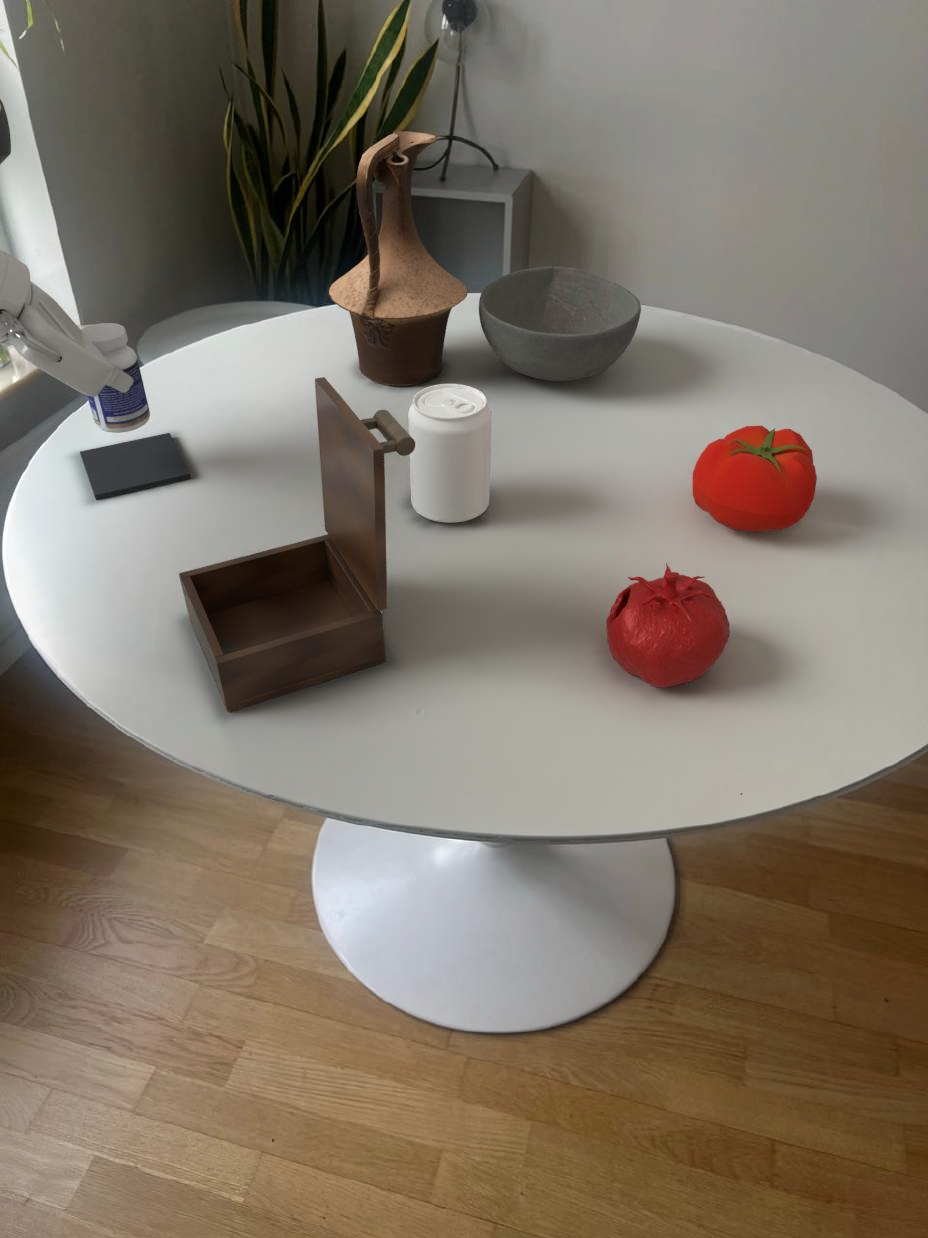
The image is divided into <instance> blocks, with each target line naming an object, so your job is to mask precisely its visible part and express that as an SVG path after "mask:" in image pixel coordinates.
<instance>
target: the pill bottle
mask: <svg viewBox="0 0 928 1238" xmlns="http://www.w3.org/2000/svg"><path fill="white" fill-rule="evenodd" d="M80 330H81V331H82V332H83V333H84V334H85V335H86V336H87V338H88V339H89V340H90V341H91V342H92V343H93V344H94V345H95V347H96V348H97V349H98V350H99V351H100V352H101V353H102V355H103V356H104V357H105V358H106V359H107V360H108V361H109V363H110V364H111V365H113V366H114V367H115V366H117V367H118V368H120V369H122V370H123V371H125V372H127V373H128V374H129V375H130V376H131V377H132V379H133V384H132V385H131V387H130V388H129V390H128V391H127V392H125V393H122V392H120V391H118V390H117V389H115V388H113V387H111V386H107V385H105V386H104V387H103V388H102V390H101V391H100V393H99V394H98V395H97V396H95V397H92V396H88V395H86V397H87V400H88V404H89V408H90V411H91V415H92V418H93V422H94V424H95V425H96V427H97V428H98V429H100V430H101V431H104V432H107V433H115V434H117V433H118V434H119V433H121V434H122V433H128V432H131V431H134V430H137V429H140V428H141V427H144V426H145V425H146V424H147V423H148V421H149V420H150V417H151V411H150V407H149V402H148V398H147V393H146V390H145V385H144V381H143V376H142V373H141V368H140V363H139V360H138V355H137V352H136V351H135V350H134V349H133V348H132V347H130V346H128V345H127V344H128V341H129V339H128V334H127V331H126V328H125V326H123V325H122V324H119V323H113V322H102V323H95V324H91V325H88V326H85V327H83V328H80Z"/></svg>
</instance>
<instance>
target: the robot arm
mask: <svg viewBox="0 0 928 1238" xmlns="http://www.w3.org/2000/svg"><path fill="white" fill-rule="evenodd" d="M11 141H12V139H11V129H10V124H9V119H8V115H7V112H6V108H5V106H4V103H3V100H1V98H0V165H2V164H3V162H5V160H6V159H7V158H8V157H9V156H10V155H11V153H12V142H11ZM0 345H2V346H3V347H11V346H13V348H14V350H15V351H16V352H17V353H18V355H19V356H20V357H21V358H23V359H24V360H26V361H27V362H28V363H30V364H31V365H33V366H35V367H36V368H38V369H39V370H40V371H43V372H44V373H45V374H47V375H49V376H51V377H53V378H54V379H56V380H58V381H60V382H61V383H63V384H64V385H66V386H68V387H70V388H72V389H74V390H75V391H77V392H78V393H81V394H83V395H85V396H87V395H88V396H92V397H95V396H97V395H98V394H99V393H100V391H101V390H102V388H103V387H104V386H105V385H107V386H111V387H113V388H115V389H117V390H118V391H120V392H122V393H125V392H127V391H128V390H129V388H130V387H131V385H132V384H133V379H132V377H131V376H130V375H129V374H128V373H127V372H125V371H123V370H122V369H120V368H118V367H117V366H115V367H114V366H113V365H111V364H110V363H109V361H108V360H107V359H106V358H105V357H104V356H103V355H102V353H101V352H100V351H99V350H98V349H97V348H96V347H95V345H94V344H93V343H92V342H91V341H90V340H89V339H88V338H87V336H86V335H85V334H84V333H83V332H82V331H81V328H80V327H79V326H78V325H77V324H76V323H75V322H74V320H73V319H72V318H71V317H70V316H69V314H68V313H67V312H66V311H65V310H64V308H62V307H61V305H60V304H59V303H58V302H57V301H56V300H55V299H54V298H53V297H52V296H51V295H49V294H48V293H47V292H46V291H45V290H43V289H42V288H41V287H39V286H38V285H36V284H35V283H34V282H32V281H31V273H30V269H29V267H28V266H27V264H25V263H23V262H22V261H20V260H18V259H17V258H15V257H14V256H12V255H11V254H9V253H7V252H6V251H4V250H3V249H1V248H0Z"/></svg>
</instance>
